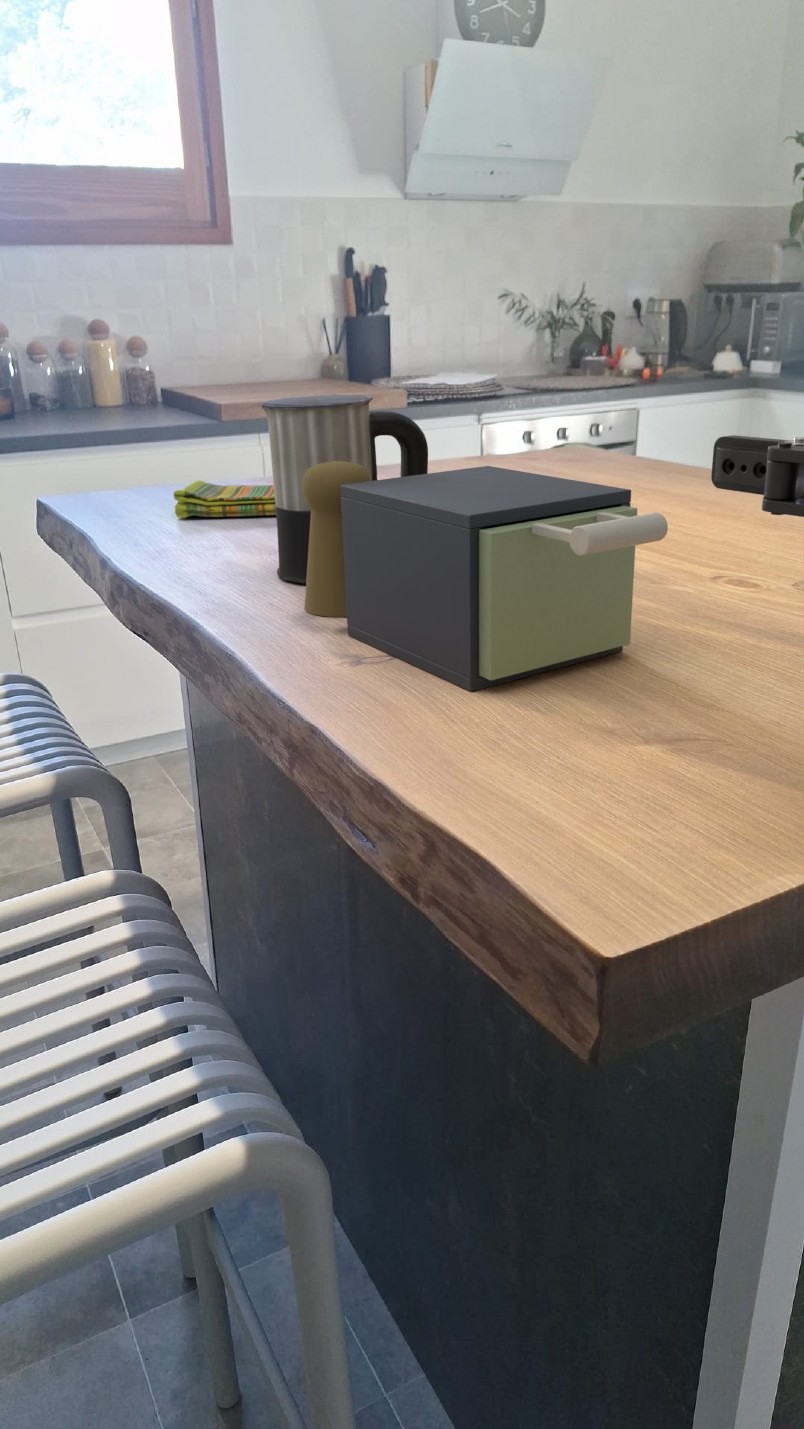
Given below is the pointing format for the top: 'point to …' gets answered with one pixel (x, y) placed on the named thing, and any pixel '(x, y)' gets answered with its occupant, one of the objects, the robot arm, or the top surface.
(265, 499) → the dish towel
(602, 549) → the drawer
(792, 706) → the top surface
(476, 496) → the cabinet
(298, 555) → the milk frother
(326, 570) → the olive pawn
